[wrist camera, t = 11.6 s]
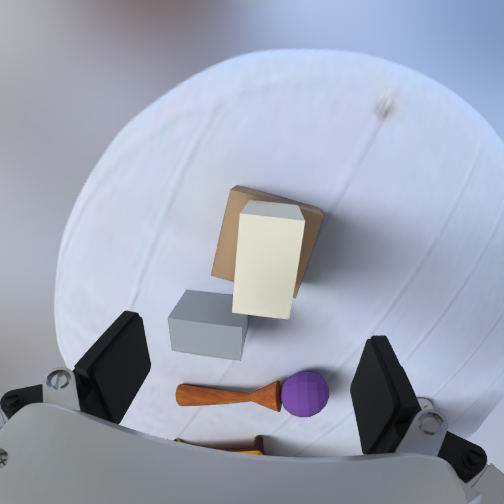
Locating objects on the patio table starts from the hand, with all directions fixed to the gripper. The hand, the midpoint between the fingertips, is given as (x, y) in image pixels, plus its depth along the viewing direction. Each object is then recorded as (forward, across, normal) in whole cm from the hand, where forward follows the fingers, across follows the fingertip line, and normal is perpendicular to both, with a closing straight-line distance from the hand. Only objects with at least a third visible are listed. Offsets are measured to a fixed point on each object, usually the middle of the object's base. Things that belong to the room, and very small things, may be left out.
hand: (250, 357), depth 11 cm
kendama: (+18, +1, +20) cm, 28 cm away
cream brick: (+14, 0, 0) cm, 14 cm away
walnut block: (+18, 0, 0) cm, 18 cm away
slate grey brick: (+18, +5, +9) cm, 21 cm away
